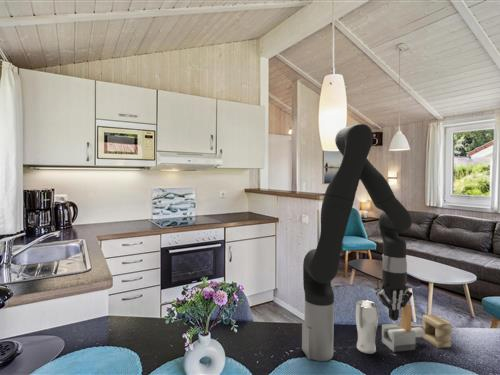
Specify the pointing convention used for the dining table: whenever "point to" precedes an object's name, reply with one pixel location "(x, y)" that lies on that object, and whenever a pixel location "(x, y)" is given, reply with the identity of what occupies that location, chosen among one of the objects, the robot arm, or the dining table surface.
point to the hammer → (407, 323)
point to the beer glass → (366, 325)
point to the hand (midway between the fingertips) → (393, 319)
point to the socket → (437, 331)
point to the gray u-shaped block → (398, 338)
